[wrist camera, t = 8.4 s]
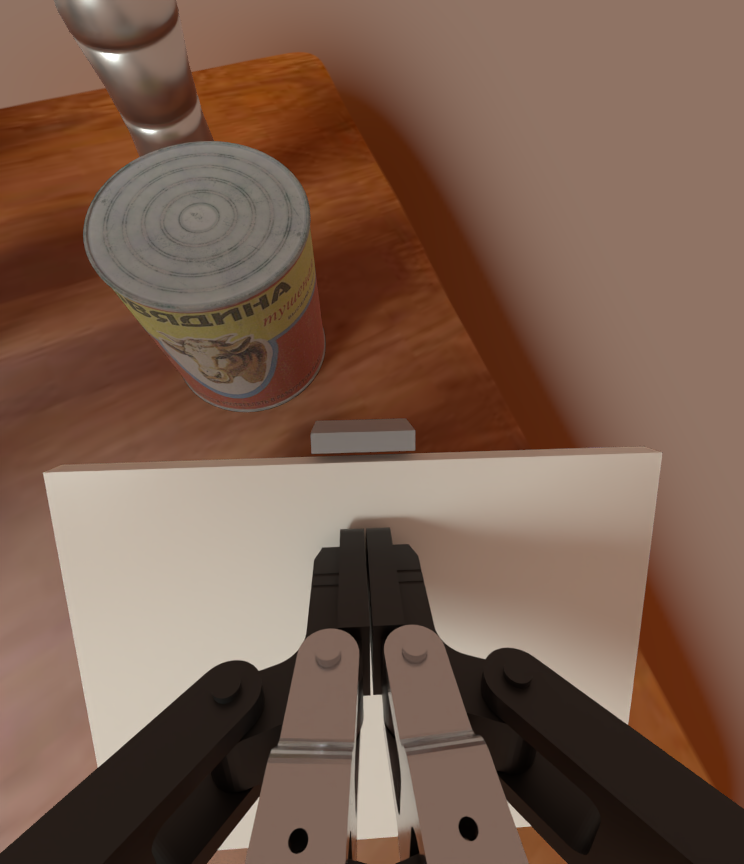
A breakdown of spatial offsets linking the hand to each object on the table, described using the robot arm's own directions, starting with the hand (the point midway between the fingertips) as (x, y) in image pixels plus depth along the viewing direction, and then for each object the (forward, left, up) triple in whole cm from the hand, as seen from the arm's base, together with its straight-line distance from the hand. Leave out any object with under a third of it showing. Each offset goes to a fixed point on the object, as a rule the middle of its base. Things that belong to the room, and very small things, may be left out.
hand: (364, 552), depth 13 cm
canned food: (-18, +7, -16) cm, 24 cm away
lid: (+2, -2, -4) cm, 5 cm away
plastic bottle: (-31, +13, -15) cm, 37 cm away
